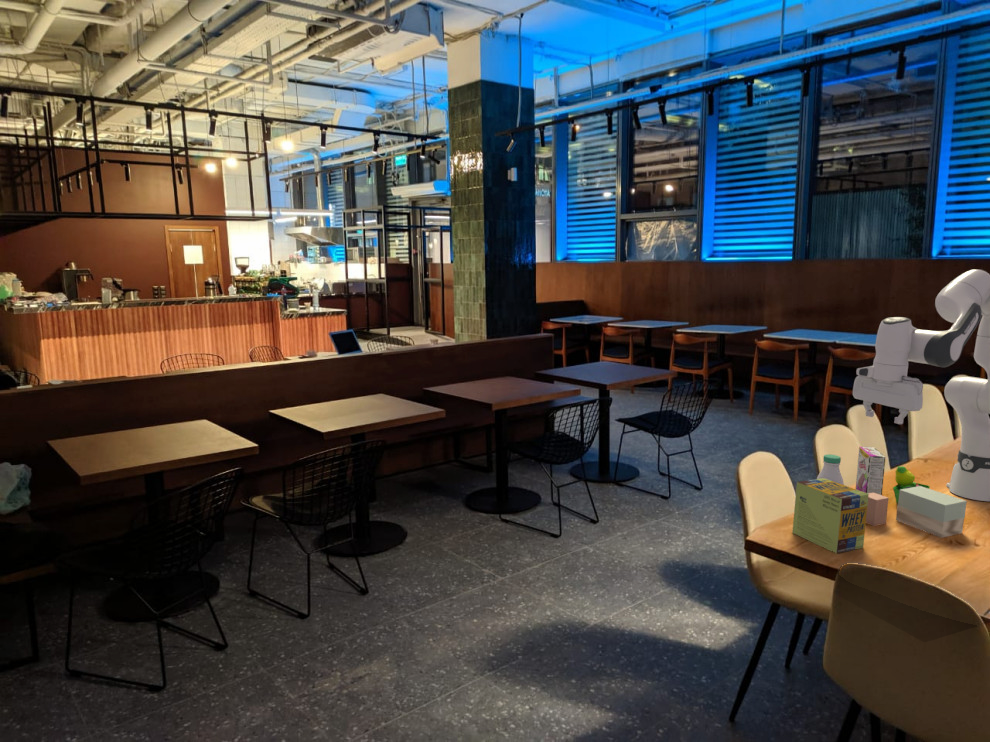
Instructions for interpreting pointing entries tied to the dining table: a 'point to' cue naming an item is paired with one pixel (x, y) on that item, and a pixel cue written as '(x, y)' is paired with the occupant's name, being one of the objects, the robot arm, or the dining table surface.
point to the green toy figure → (904, 481)
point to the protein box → (830, 514)
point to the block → (876, 509)
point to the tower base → (929, 523)
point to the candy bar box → (870, 470)
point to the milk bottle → (831, 469)
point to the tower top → (932, 503)
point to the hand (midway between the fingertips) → (883, 420)
